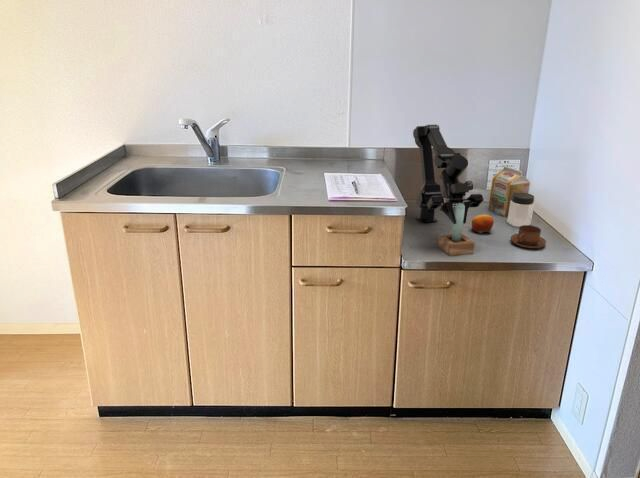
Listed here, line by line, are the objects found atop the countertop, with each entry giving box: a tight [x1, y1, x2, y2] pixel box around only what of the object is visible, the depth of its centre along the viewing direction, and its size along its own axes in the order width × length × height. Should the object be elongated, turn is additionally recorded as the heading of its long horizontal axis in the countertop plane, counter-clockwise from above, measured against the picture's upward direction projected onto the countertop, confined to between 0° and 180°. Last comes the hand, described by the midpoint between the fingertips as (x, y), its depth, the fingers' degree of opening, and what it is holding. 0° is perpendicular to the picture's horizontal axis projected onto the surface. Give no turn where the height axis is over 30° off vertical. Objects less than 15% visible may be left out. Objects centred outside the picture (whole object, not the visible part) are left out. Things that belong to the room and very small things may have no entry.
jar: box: [506, 192, 535, 228], centre depth 198 cm, size 9×8×12 cm
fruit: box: [471, 214, 495, 234], centre depth 191 cm, size 8×8×8 cm
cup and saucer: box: [510, 225, 547, 249], centre depth 180 cm, size 12×12×6 cm
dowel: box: [451, 203, 465, 241], centre depth 172 cm, size 3×3×14 cm
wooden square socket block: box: [437, 233, 476, 257], centre depth 175 cm, size 9×9×4 cm
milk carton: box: [487, 165, 531, 218], centre depth 210 cm, size 11×11×19 cm
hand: (459, 223), depth 171 cm, fingers closed on dowel, 3 cm apart
